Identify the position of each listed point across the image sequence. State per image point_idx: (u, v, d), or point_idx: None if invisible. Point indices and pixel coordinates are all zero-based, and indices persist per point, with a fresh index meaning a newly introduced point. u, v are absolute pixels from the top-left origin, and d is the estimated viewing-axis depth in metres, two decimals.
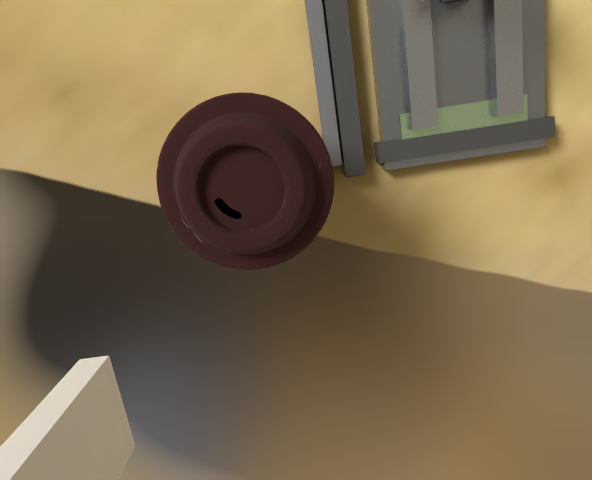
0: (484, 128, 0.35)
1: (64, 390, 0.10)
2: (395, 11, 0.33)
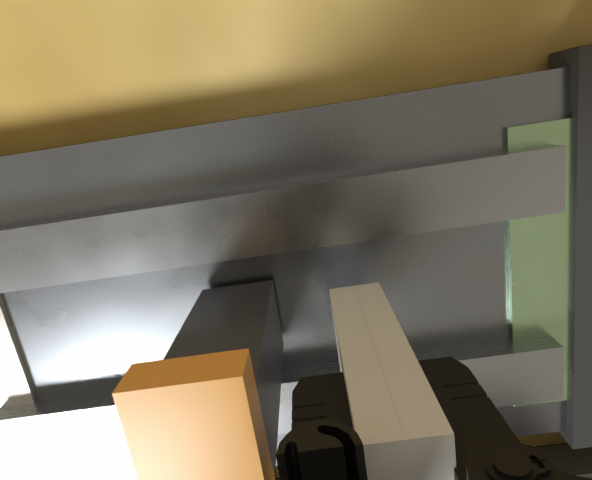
0: (579, 228, 0.14)
1: (345, 306, 0.12)
2: None
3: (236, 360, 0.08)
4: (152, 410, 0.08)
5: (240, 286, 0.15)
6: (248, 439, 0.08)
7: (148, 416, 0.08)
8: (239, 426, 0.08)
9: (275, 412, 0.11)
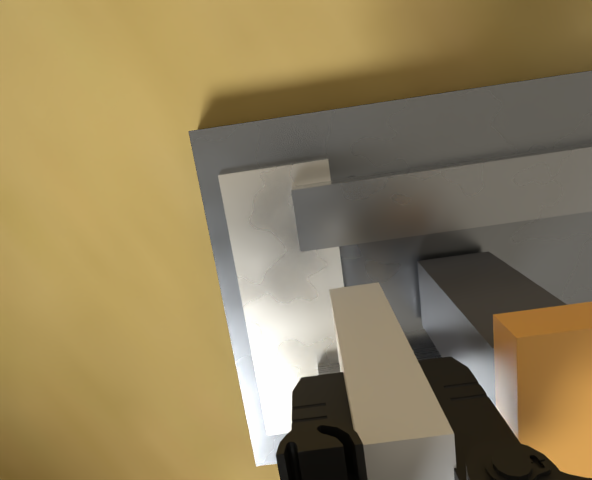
0: None
1: (344, 306, 0.12)
2: None
3: None
4: (551, 355, 0.08)
5: (458, 257, 0.15)
6: None
7: (546, 361, 0.08)
8: None
9: None
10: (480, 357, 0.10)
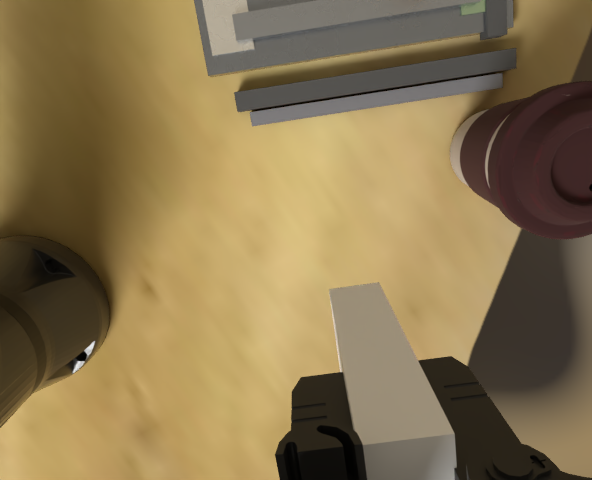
0: None
1: (344, 306, 0.12)
2: (370, 25, 0.37)
3: None
4: None
5: None
6: None
7: None
8: None
9: None
10: None
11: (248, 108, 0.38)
